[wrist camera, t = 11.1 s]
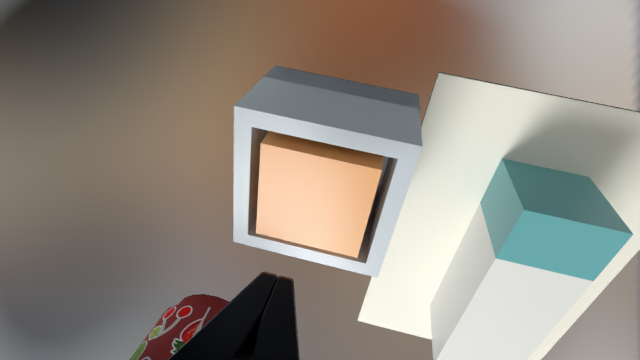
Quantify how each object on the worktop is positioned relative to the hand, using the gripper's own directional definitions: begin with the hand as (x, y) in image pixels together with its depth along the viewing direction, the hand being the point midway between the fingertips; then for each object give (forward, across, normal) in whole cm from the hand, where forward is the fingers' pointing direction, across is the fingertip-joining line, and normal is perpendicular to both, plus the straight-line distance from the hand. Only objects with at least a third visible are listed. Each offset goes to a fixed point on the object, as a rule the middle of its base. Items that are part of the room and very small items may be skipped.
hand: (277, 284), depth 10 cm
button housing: (+8, 0, 0) cm, 9 cm away
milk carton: (+8, -9, +4) cm, 13 cm away
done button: (+7, 0, 0) cm, 7 cm away
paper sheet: (+8, -9, +4) cm, 13 cm away
